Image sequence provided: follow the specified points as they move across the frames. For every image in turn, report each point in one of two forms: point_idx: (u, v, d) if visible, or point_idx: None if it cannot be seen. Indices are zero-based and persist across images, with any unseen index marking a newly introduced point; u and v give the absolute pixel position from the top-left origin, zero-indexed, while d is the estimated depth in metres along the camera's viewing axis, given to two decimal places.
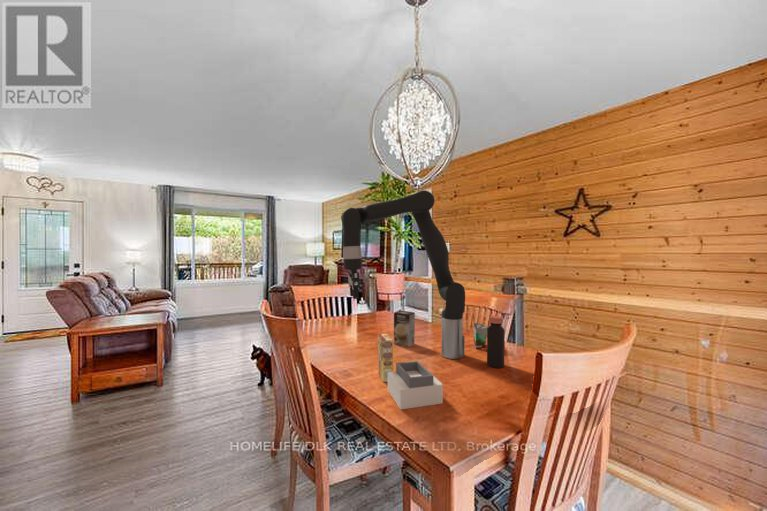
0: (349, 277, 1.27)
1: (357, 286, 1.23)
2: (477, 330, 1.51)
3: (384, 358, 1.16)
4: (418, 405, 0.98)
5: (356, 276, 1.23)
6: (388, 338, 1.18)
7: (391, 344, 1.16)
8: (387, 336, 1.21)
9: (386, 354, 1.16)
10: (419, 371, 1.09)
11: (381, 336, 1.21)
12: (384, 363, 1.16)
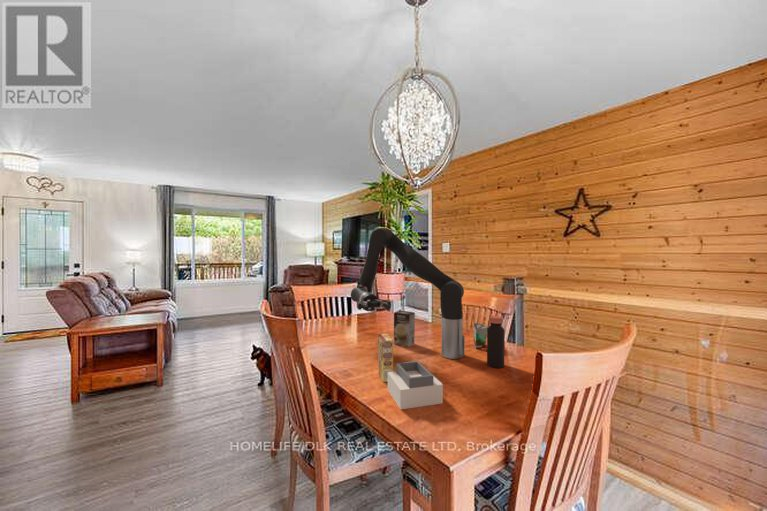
0: (368, 308, 1.38)
1: (358, 305, 1.33)
2: (477, 330, 1.51)
3: (384, 358, 1.16)
4: (418, 405, 0.98)
5: None
6: (388, 338, 1.18)
7: (391, 344, 1.16)
8: (387, 336, 1.21)
9: (386, 354, 1.16)
10: (419, 371, 1.09)
11: (381, 336, 1.21)
12: (384, 363, 1.16)
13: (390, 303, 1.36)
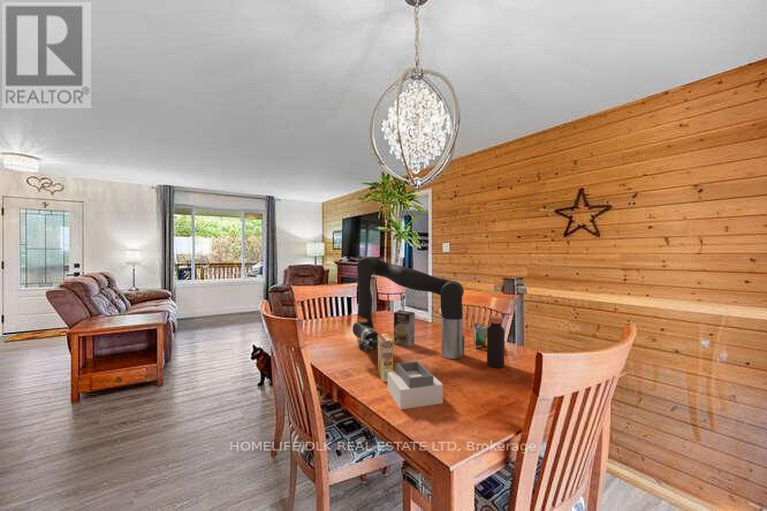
0: None
1: (360, 346, 1.31)
2: (477, 330, 1.51)
3: (384, 358, 1.16)
4: (418, 405, 0.98)
5: (358, 343, 1.35)
6: (388, 338, 1.18)
7: (391, 344, 1.16)
8: (387, 336, 1.21)
9: (386, 354, 1.16)
10: (419, 371, 1.09)
11: (381, 336, 1.21)
12: (384, 363, 1.16)
13: None
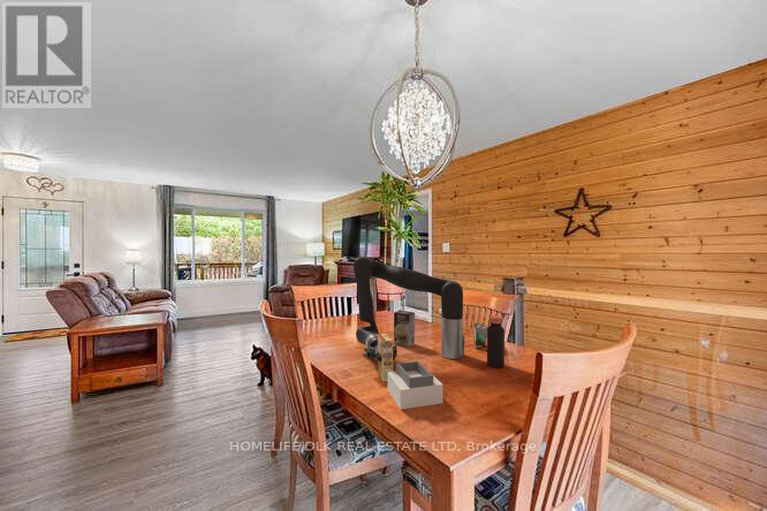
0: None
1: (370, 354, 1.21)
2: (477, 330, 1.51)
3: (384, 358, 1.16)
4: (418, 405, 0.98)
5: (365, 352, 1.24)
6: (388, 338, 1.18)
7: (391, 344, 1.16)
8: (387, 336, 1.21)
9: (386, 354, 1.16)
10: (419, 371, 1.09)
11: (381, 336, 1.21)
12: (384, 363, 1.16)
13: (396, 351, 1.23)
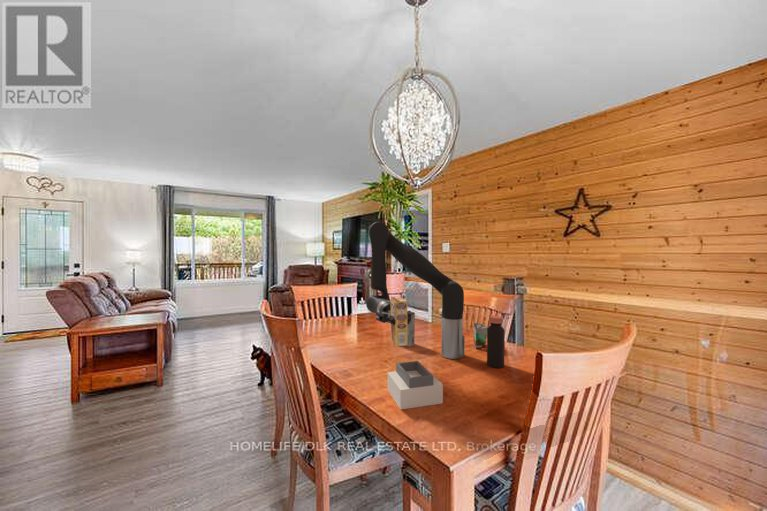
0: None
1: (382, 317, 1.12)
2: (477, 330, 1.51)
3: (398, 320, 1.07)
4: (418, 405, 0.98)
5: (377, 316, 1.16)
6: (402, 299, 1.09)
7: (405, 305, 1.07)
8: (401, 298, 1.12)
9: (400, 316, 1.07)
10: (419, 371, 1.09)
11: (394, 298, 1.12)
12: (398, 326, 1.07)
13: (410, 315, 1.14)
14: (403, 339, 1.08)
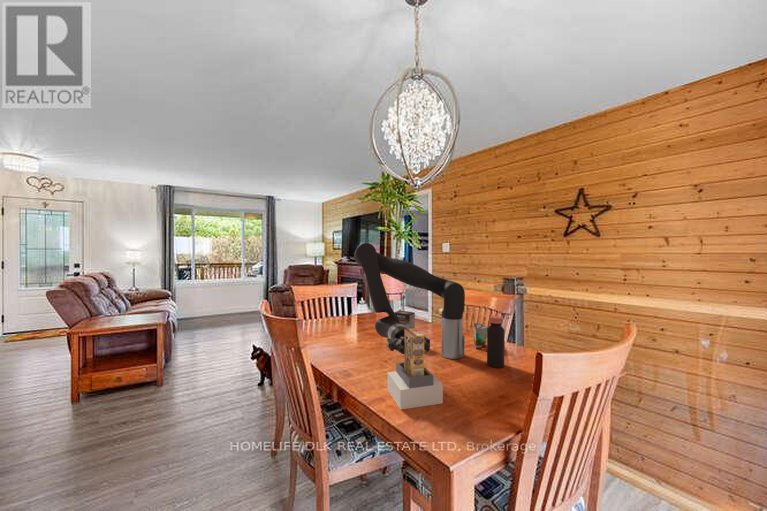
0: None
1: (390, 345, 1.06)
2: (477, 330, 1.51)
3: (414, 356, 1.00)
4: (418, 405, 0.98)
5: (387, 342, 1.10)
6: (418, 333, 1.03)
7: (422, 340, 1.01)
8: (416, 330, 1.06)
9: (417, 351, 1.01)
10: None
11: (409, 331, 1.06)
12: (414, 362, 1.00)
13: (429, 341, 1.09)
14: (420, 375, 1.01)
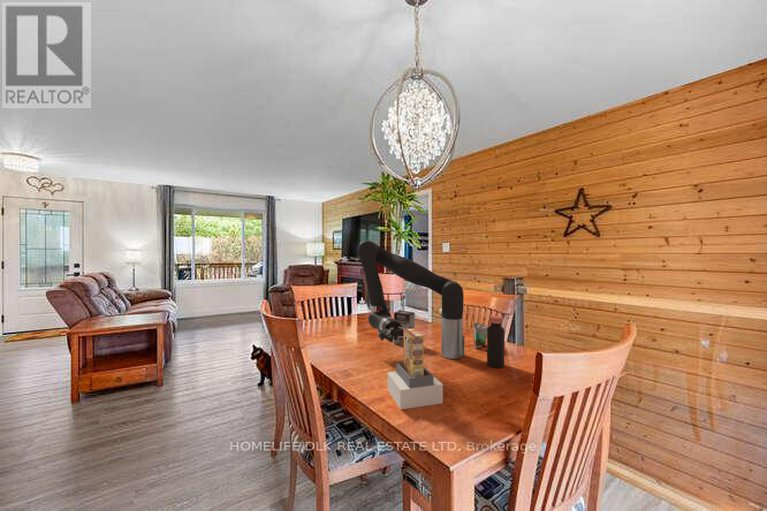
0: None
1: (380, 335, 1.18)
2: (477, 330, 1.51)
3: (414, 356, 1.00)
4: (418, 405, 0.98)
5: (378, 333, 1.22)
6: (417, 333, 1.03)
7: (422, 340, 1.01)
8: (415, 331, 1.06)
9: (416, 351, 1.01)
10: None
11: (408, 331, 1.05)
12: (414, 362, 1.00)
13: None
14: None
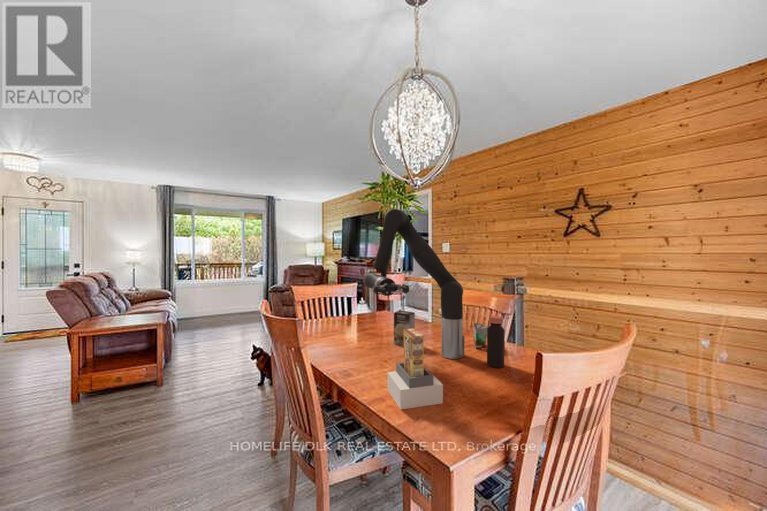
0: None
1: (375, 289, 1.26)
2: (477, 330, 1.51)
3: (414, 356, 1.00)
4: (418, 405, 0.98)
5: (373, 288, 1.30)
6: (417, 333, 1.03)
7: (422, 340, 1.01)
8: (415, 331, 1.06)
9: (416, 351, 1.01)
10: None
11: (408, 331, 1.05)
12: (414, 362, 1.00)
13: (408, 287, 1.29)
14: None
